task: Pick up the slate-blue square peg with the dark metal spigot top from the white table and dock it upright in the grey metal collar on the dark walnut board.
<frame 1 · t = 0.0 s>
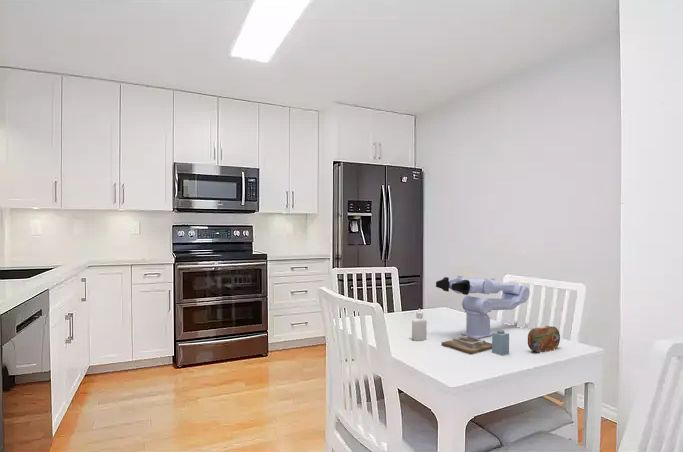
hand: (444, 285, 153), 22 cm above the table, tool horizontal, fingers open, 7 cm apart
dock: (468, 346, 148), on the table
peg: (500, 353, 141), on the table
eye dropper bottle: (419, 340, 156), on the table
tin: (543, 350, 145), on the table
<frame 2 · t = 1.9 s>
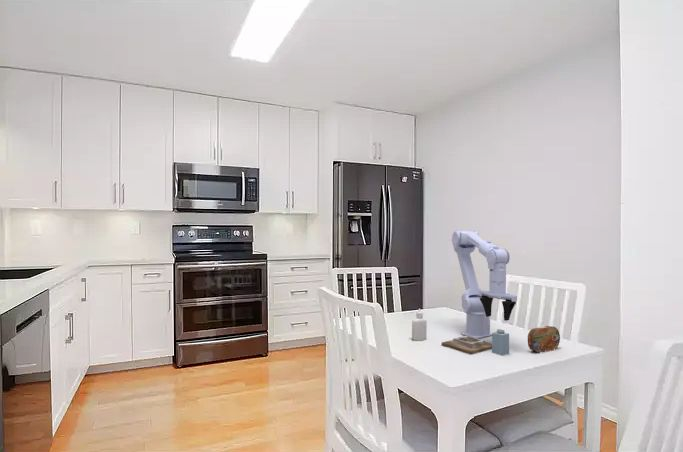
hand: (497, 318, 148), 10 cm above the table, tool pointing down, fingers open, 7 cm apart
nothing on the table moved.
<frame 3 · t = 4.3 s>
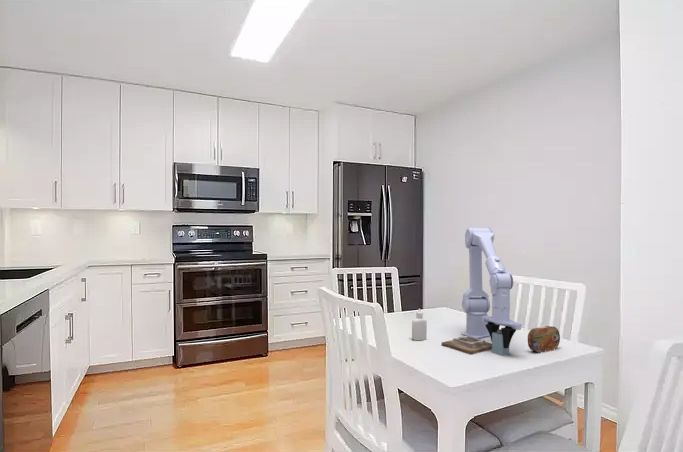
hand: (500, 346, 141), 2 cm above the table, tool pointing down, fingers closed on peg, 4 cm apart
peg: (500, 353, 141), on the table, touching gripper
everything else where it was.
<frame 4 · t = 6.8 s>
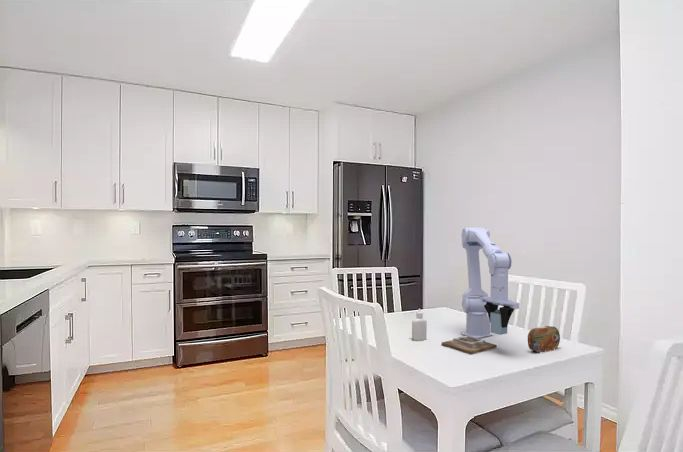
hand: (498, 325, 141), 9 cm above the table, tool pointing down, fingers closed on peg, 4 cm apart
peg: (498, 332, 141), point 7 cm above the table, touching gripper
everything else where it was.
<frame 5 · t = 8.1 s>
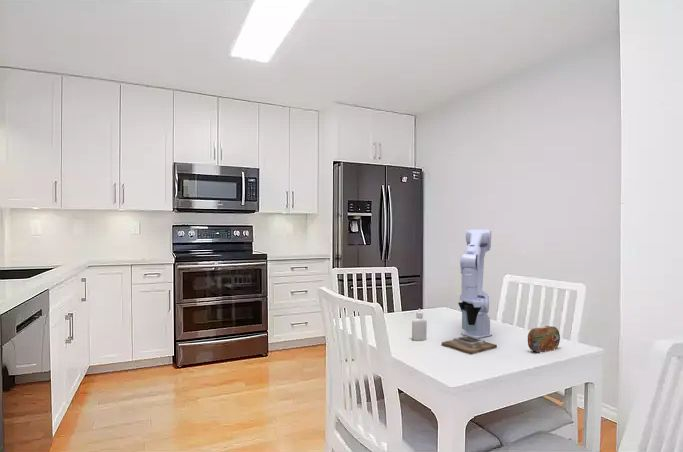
hand: (469, 323, 148), 9 cm above the table, tool pointing down, fingers closed on peg, 4 cm apart
peg: (469, 329, 148), point 6 cm above the table, touching gripper
everything else where it was.
when the fingers open (4 cm above the table, at t = 9.3 s): peg stays where it is, resting on dock.
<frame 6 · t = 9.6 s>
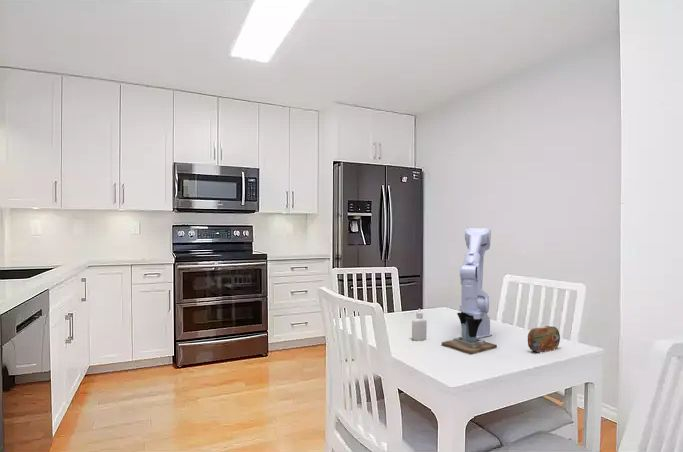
hand: (469, 334, 148), 4 cm above the table, tool pointing down, fingers open, 6 cm apart
peg: (468, 343, 148), point 1 cm above the table, touching dock
everything else where it was.
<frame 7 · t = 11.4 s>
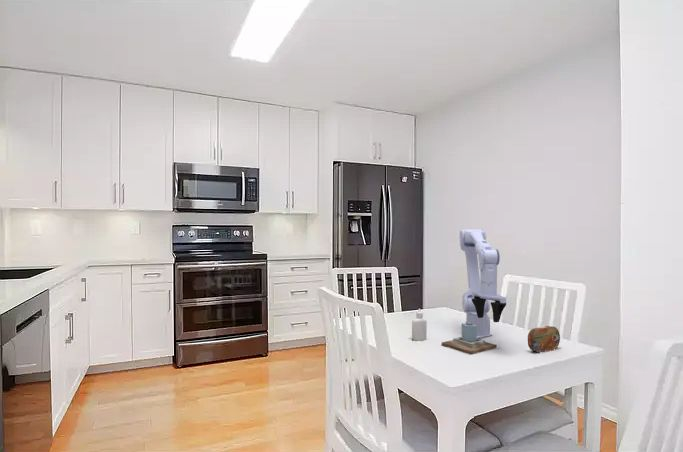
hand: (488, 319, 146), 10 cm above the table, tool pointing down, fingers open, 7 cm apart
nothing on the table moved.
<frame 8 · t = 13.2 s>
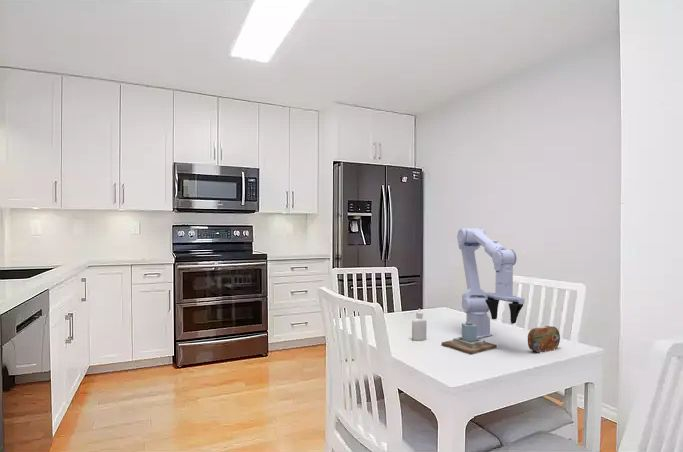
hand: (503, 321, 144), 10 cm above the table, tool pointing down, fingers open, 7 cm apart
nothing on the table moved.
at the end: peg 0.1 cm off-centre on the dock, point 1.0 cm above the dock's base; peg tilted 0°; the gripper is holding nothing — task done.
